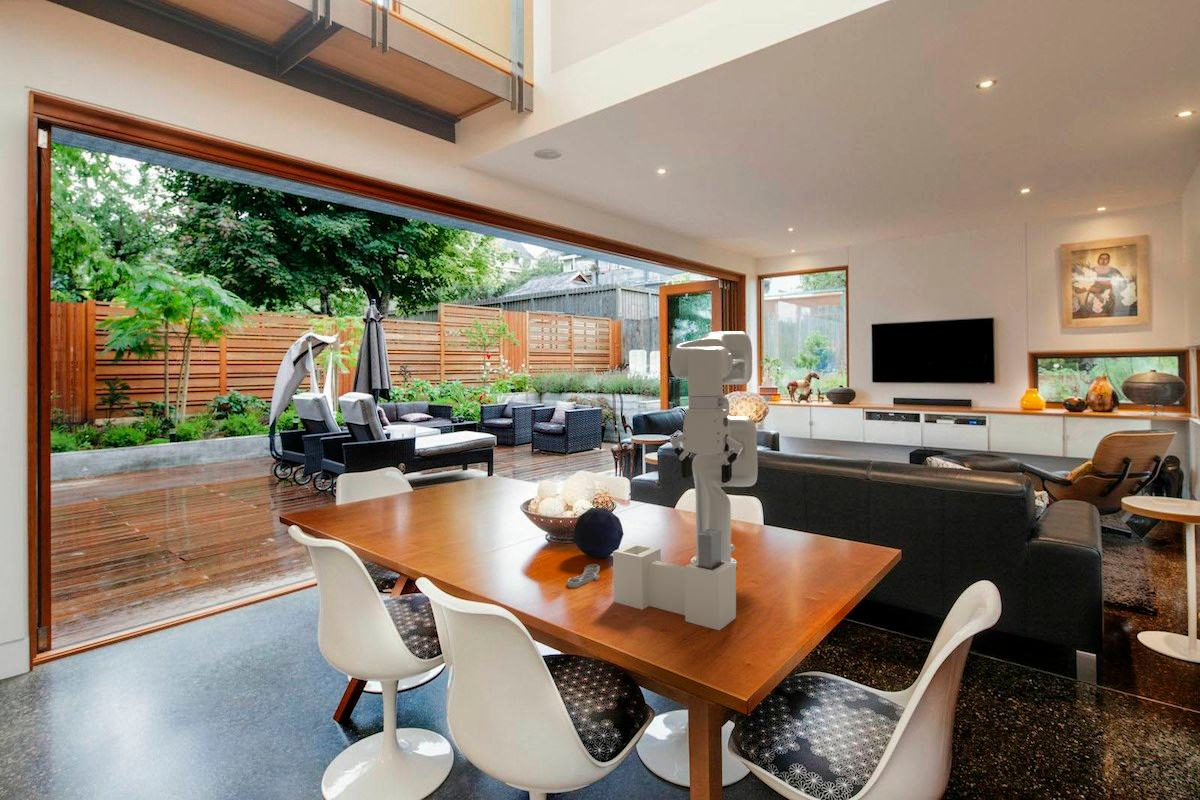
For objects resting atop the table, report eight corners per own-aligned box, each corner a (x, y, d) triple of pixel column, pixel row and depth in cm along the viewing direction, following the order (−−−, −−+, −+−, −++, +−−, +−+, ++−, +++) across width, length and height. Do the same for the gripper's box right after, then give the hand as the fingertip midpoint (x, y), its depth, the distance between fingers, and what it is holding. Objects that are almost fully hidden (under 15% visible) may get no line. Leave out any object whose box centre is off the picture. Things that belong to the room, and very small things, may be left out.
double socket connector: (633, 591, 147) (632, 543, 147) (736, 617, 131) (735, 563, 130) (613, 601, 141) (613, 551, 140) (719, 630, 125) (719, 573, 124)
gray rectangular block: (708, 578, 133) (708, 529, 132) (721, 581, 131) (721, 530, 131) (698, 585, 129) (698, 534, 128) (711, 587, 127) (711, 536, 126)
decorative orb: (622, 529, 186) (593, 492, 183) (640, 541, 172) (609, 502, 169) (587, 560, 183) (557, 524, 180) (602, 576, 169) (571, 537, 166)
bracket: (554, 577, 155) (592, 562, 166) (555, 585, 155) (592, 568, 166) (576, 584, 150) (614, 567, 161) (576, 591, 150) (614, 574, 161)
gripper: (749, 403, 132) (749, 480, 133) (679, 400, 142) (680, 472, 144) (734, 406, 126) (735, 487, 127) (663, 403, 136) (664, 478, 138)
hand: (706, 479), depth 136 cm, fingers open, 9 cm apart
